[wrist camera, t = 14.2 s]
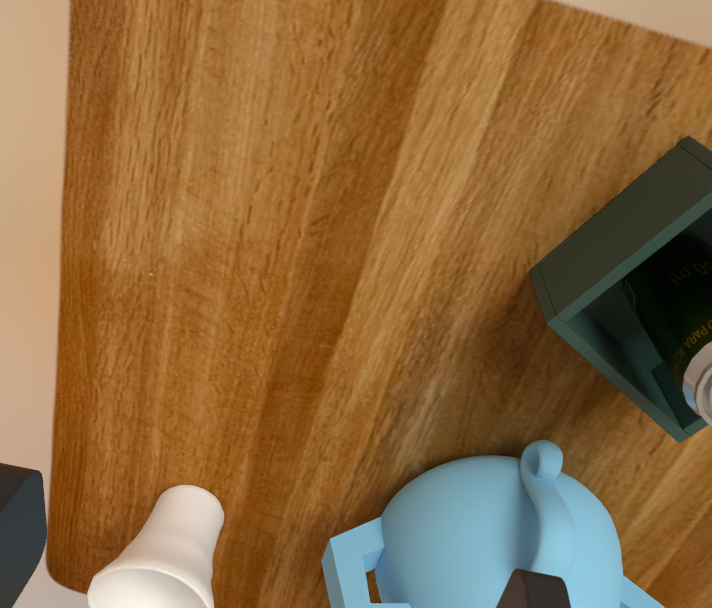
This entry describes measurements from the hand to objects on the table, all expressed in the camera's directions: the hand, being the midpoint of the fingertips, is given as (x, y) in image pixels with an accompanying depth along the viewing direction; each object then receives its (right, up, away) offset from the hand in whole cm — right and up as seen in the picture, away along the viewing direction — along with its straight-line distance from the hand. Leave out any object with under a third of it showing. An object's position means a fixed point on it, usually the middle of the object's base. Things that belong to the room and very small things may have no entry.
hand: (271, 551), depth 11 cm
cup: (-12, -12, +42) cm, 45 cm away
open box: (+20, +6, +28) cm, 35 cm away
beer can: (+20, +6, +28) cm, 35 cm away
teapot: (+12, -14, +40) cm, 44 cm away
